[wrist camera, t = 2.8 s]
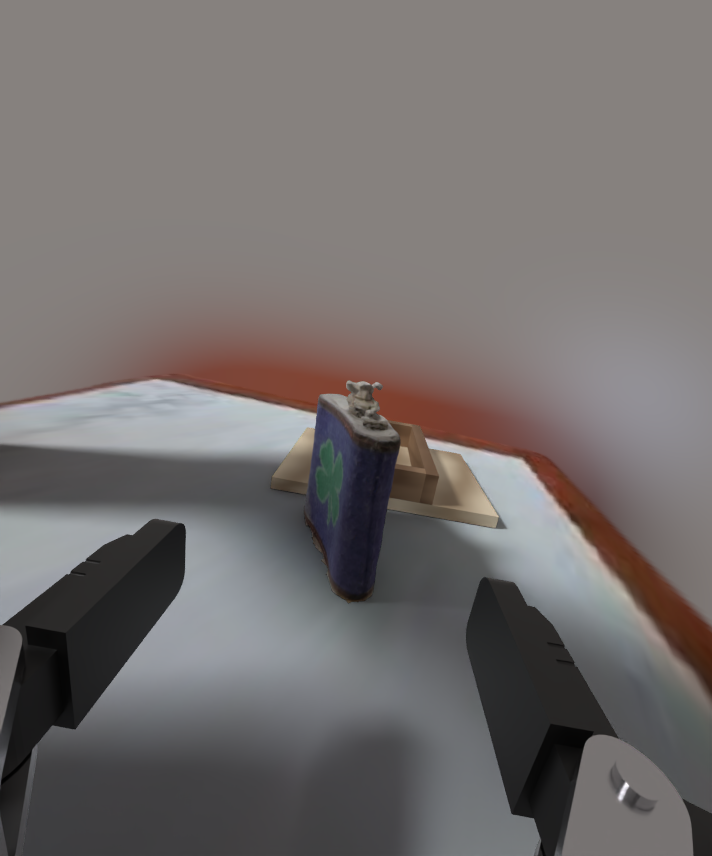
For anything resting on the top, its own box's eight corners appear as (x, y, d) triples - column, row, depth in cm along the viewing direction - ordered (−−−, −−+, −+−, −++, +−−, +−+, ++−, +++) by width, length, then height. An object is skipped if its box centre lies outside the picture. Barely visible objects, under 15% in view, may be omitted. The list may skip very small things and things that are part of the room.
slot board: (270, 488, 28) (274, 447, 27) (306, 435, 42) (309, 406, 41) (495, 528, 28) (507, 488, 27) (458, 462, 41) (465, 433, 40)
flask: (299, 509, 26) (318, 363, 23) (337, 508, 27) (360, 368, 24) (335, 607, 18) (372, 401, 15) (387, 599, 19) (432, 406, 16)
